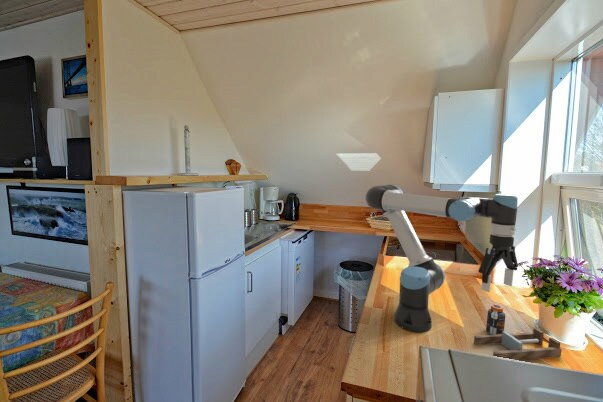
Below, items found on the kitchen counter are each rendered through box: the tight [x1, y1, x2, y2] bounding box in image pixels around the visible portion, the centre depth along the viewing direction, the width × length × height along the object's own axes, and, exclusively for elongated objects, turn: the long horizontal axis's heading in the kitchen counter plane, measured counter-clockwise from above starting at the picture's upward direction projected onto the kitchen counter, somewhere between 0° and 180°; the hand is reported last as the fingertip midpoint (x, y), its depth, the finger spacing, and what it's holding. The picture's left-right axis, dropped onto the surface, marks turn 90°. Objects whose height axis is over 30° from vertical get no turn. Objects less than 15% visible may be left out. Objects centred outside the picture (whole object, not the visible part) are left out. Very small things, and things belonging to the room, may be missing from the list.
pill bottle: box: [485, 303, 506, 335], centre depth 114 cm, size 6×6×11 cm
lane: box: [473, 327, 563, 361], centre depth 103 cm, size 25×10×5 cm, turn 96°
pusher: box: [500, 330, 539, 350], centre depth 103 cm, size 11×7×5 cm, turn 96°
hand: (496, 287), depth 109 cm, fingers open, 13 cm apart
